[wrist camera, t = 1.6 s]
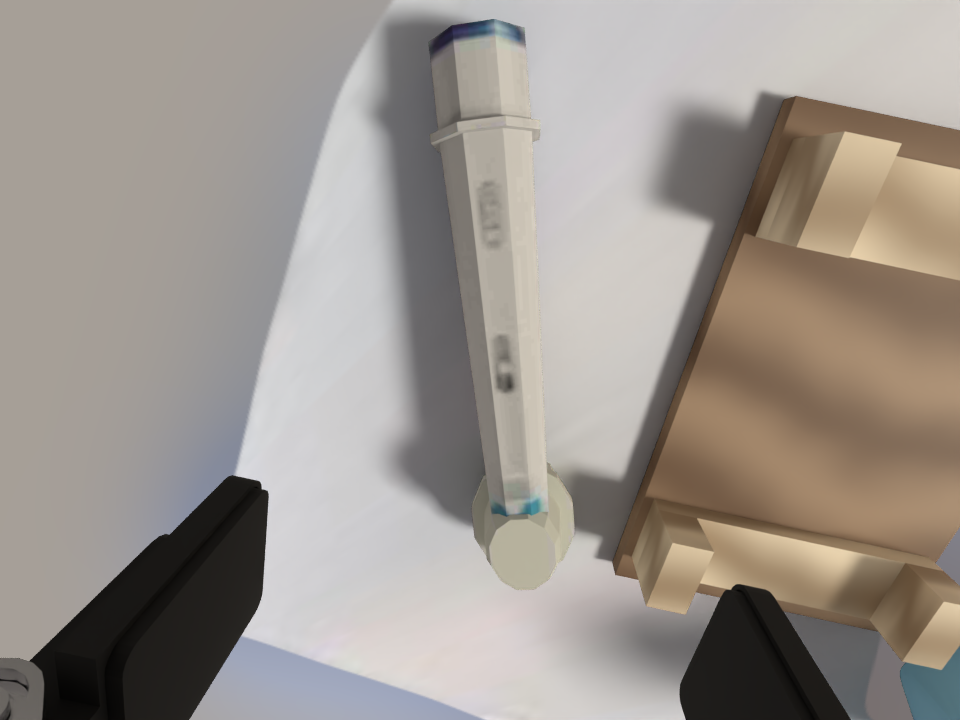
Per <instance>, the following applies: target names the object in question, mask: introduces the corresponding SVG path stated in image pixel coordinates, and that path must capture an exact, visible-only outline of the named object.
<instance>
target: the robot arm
mask: <svg viewBox="0 0 960 720" xmlns="http://www.w3.org/2000/svg"><path fill="white" fill-rule="evenodd" d="M268 498H269V496H268V491H266V490H262V488H261V483H260V482H259V481H256V480H251V479H247V478H242V477H237V476H233V475H232V476H229V477H227V478H226V479H225V480H224V481H223V482H222V483H221V484H220V485H219V486H218V487H217V488H216V489H215V490H214V491H213V492H212V493H211V494H210V495H209V496H208V497H207V498H206V499H205V500H204V501H203V502H202V503H201V504H200V505H199V506H198V507H197V508H196V509H195V510H194V511H193V512H192V513H191V514H190V515H189V516H188V517H187V518H186V519H185V520H184V521H183V522H182V523H181V524H180V525H179V526H178V527H177V528H176V529H175V530H174V531H173V532H172V533H171V534H170V535H168V534H164V535H162V536H159V537H158V538H157V539H155V540H154V541H153V542H152V543H151V544H150V545H149V546H147V547H146V548H145V549H144V550H143V551H142V552H141V553H140V554H139V555H138V556H137V557H136V558H135V559H134V560H133V561H132V562H131V563H130V564H129V565H128V566H127V567H126V568H125V569H124V570H123V571H122V572H121V573H120V574H119V575H118V576H117V577H116V578H114V579H113V580H112V581H111V583H109V584H108V585H107V586H106V587H105V588H104V589H103V590H102V591H101V592H100V593H99V594H98V595H97V596H96V597H95V598H94V599H93V600H92V601H91V602H90V603H89V604H88V605H87V606H86V607H85V608H84V609H83V610H82V611H80V613H78V614H77V615H76V616H75V617H74V618H73V619H72V620H71V621H70V622H69V623H68V624H67V625H66V626H65V627H64V628H63V629H62V630H61V631H60V632H59V633H58V634H57V635H56V636H55V637H54V638H53V639H52V640H51V641H50V642H49V643H48V644H47V645H46V646H44V647H43V648H42V649H41V650H40V652H38V653H37V654H36V655H35V656H34V657H33V658H32V659H31V660H30V661H26V660H23V659H20V658H0V720H189V719H190V718H191V716H192V714H193V713H194V711H195V709H196V708H197V706H198V705H199V703H200V701H201V700H202V698H203V696H204V695H205V693H206V692H207V690H208V688H209V687H210V685H211V684H212V682H213V680H214V679H215V677H216V675H217V674H218V672H219V671H220V669H221V667H222V666H223V664H224V662H225V661H226V659H227V658H228V656H229V654H230V653H231V651H232V649H233V648H234V646H235V645H236V643H237V641H238V640H239V638H240V637H241V635H242V633H243V632H244V630H245V628H246V627H247V625H248V624H249V622H250V620H251V619H252V617H253V615H254V614H255V612H256V610H257V608H258V606H259V603H260V600H261V597H262V591H263V576H264V560H265V545H266V529H267V513H268ZM680 702H681V706H682V709H683V712H684V715H685V718H686V720H851V719H850V718H849V716H848V715H847V713H846V711H845V710H844V708H843V706H842V705H841V703H840V702H839V700H838V698H837V697H836V695H835V694H834V692H833V690H832V689H831V687H830V686H829V684H828V682H827V681H826V679H825V678H824V676H823V674H822V673H821V671H820V670H819V668H818V666H817V665H816V663H815V662H814V660H813V658H812V657H811V655H810V654H809V652H808V650H807V649H806V647H805V646H804V644H803V642H802V641H801V639H800V637H799V636H798V634H797V633H796V631H795V629H794V628H793V626H792V625H791V623H790V621H789V620H788V618H787V617H786V615H785V613H784V612H783V610H782V609H781V607H780V605H779V604H778V602H777V601H776V599H775V597H774V596H773V595H772V593H771V592H770V591H768V590H766V589H761V588H756V587H752V586H747V585H742V584H736V585H734V586H733V587H732V589H731V590H725V591H724V592H723V594H722V596H721V598H720V600H719V602H718V605H717V607H716V609H715V611H714V613H713V615H712V617H711V619H710V622H709V624H708V626H707V628H706V630H705V632H704V634H703V636H702V639H701V641H700V643H699V645H698V647H697V649H696V651H695V654H694V656H693V658H692V660H691V662H690V664H689V666H688V668H687V671H686V673H685V675H684V677H683V679H682V681H681V684H680Z"/></svg>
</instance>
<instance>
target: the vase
mask: <svg viewBox="0 0 960 720" xmlns="http://www.w3.org/2000/svg"><path fill="white" fill-rule="evenodd" d="M900 678H901V682H902V686H903V689H904V692H905V695H906V698H907V701H908V704H909V707H910V710H911V713H912V716H913V719H914V720H960V646H959V647H958V649H957V650H956V651H955V653H954V654H953V655H952V657H951V658H950V659H949V661H948V662H947V663H946V665H945V666H944V668H943V669H942V670H939V669H934V668H930V667H925V666H920V665H916V664H911V663H907V662H906V663H905V664H904V665H903V666H902V668H901V670H900Z"/></svg>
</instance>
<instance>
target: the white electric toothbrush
mask: <svg viewBox="0 0 960 720" xmlns="http://www.w3.org/2000/svg"><path fill="white" fill-rule="evenodd" d="M429 51H430V60H431V69H432V79H433V88H434V97H435V106H436V116H437V125H438V131H436V132H434V133H432V134H430V142H431V144H432V145H433V147H434V148H435V149H436V150H437V151H438V152H441V158H442V165H443V172H444V179H445V186H446V193H447V200H448V208H449V215H450V222H451V229H452V236H453V243H454V250H455V258H456V265H457V272H458V279H459V286H460V293H461V300H462V307H463V315H464V322H465V329H466V336H467V343H468V350H469V357H470V364H471V372H472V379H473V386H474V393H475V400H476V407H477V414H478V422H479V429H480V436H481V443H482V450H483V457H484V464H485V471H486V475H484V476H483V478H482V480H481V483H480V485H479V488H478V490H477V493H476V495H475V498H474V500H473V503H472V508H471V510H472V519H473V528H474V537H475V539H476V541H477V542H478V544H479V546H480V547H481V549H482V550H483V552H484V553H485V555H486V557H487V560H488V562H489V563H490V565H491V566H492V568H493V569H494V571H495V572H496V574H497V575H498V577H499V579H500V580H501V581H502V582H504V583H505V584H507V585H509V586H511V587H513V588H514V589H516V590H534V589H536V588H537V587H539V586H540V585H542V584H543V583H545V582H546V581H548V580H549V579H550V577H551V576H552V575H553V573H554V570H555V568H556V566H557V564H558V563H559V562H560V561H562V560H563V559H564V557H565V554H566V552H567V550H568V548H569V546H570V544H571V541H572V539H573V537H574V535H575V528H574V513H573V502H572V498H571V496H570V494H569V493H568V491H567V489H566V488H565V486H564V484H563V483H562V481H561V480H560V478H559V476H558V475H557V473H556V472H554V470H553V469H552V467H551V466H550V464H549V463H547V462H546V440H545V417H544V394H543V372H542V349H541V327H540V304H539V282H538V259H537V236H536V214H535V191H534V169H533V146H532V142H534V141H536V140H539V138H540V120H535V119H531V113H530V99H529V85H528V71H527V58H526V44H525V30H524V28H523V27H520V26H516V25H513V24H510V23H506V22H503V21H499V20H496V19H491V20H485V21H478V22H472V23H465V24H458V25H452V26H451V27H449V28H448V29H446V30H445V31H444V32H442V33H441V34H439V35H438V36H437V37H435V38H434V39H432V40H431V41H429Z"/></svg>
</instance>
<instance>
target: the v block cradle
mask: <svg viewBox="0 0 960 720" xmlns="http://www.w3.org/2000/svg"><path fill="white" fill-rule="evenodd" d="M959 527H960V130H955V129H950V128H946V127H941V126H936V125H931V124H927V123H922V122H917V121H912V120H908V119H903V118H898V117H893V116H889V115H884V114H879V113H874V112H870V111H865V110H860V109H855V108H851V107H846V106H841V105H836V104H832V103H827V102H822V101H817V100H813V99H808V98H803V97H798V96H795V97H792V98H788V99H785V100H784V101H783V104H782V107H781V109H780V112H779V115H778V117H777V120H776V123H775V125H774V128H773V131H772V134H771V136H770V139H769V142H768V144H767V147H766V150H765V152H764V155H763V158H762V160H761V163H760V166H759V169H758V171H757V174H756V177H755V179H754V182H753V185H752V187H751V190H750V193H749V196H748V198H747V201H746V204H745V206H744V209H743V212H742V214H741V217H740V220H739V222H738V225H737V228H736V231H735V233H734V236H733V239H732V241H731V244H730V247H729V249H728V252H727V255H726V257H725V260H724V263H723V266H722V268H721V271H720V274H719V276H718V279H717V282H716V284H715V287H714V290H713V293H712V295H711V298H710V301H709V303H708V306H707V309H706V311H705V314H704V317H703V319H702V322H701V325H700V328H699V330H698V333H697V336H696V338H695V341H694V344H693V346H692V349H691V352H690V354H689V357H688V360H687V363H686V365H685V368H684V371H683V373H682V376H681V379H680V381H679V384H678V387H677V390H676V392H675V395H674V398H673V400H672V403H671V406H670V408H669V411H668V414H667V416H666V419H665V422H664V425H663V427H662V430H661V433H660V435H659V438H658V441H657V443H656V446H655V449H654V451H653V454H652V457H651V460H650V462H649V465H648V468H647V470H646V473H645V476H644V478H643V481H642V484H641V487H640V489H639V492H638V495H637V497H636V500H635V503H634V505H633V508H632V511H631V513H630V516H629V519H628V522H627V524H626V527H625V530H624V532H623V535H622V538H621V540H620V543H619V546H618V548H617V551H616V554H615V557H614V559H613V562H612V563H613V567H614V571H615V575H619V576H623V577H628V578H633V579H637V580H639V583H640V587H641V590H642V593H643V597H644V600H645V604H646V606H648V607H653V608H657V609H662V610H666V611H671V612H676V613H680V614H685V615H686V612H687V610H688V608H689V606H690V604H691V602H692V599H693V597H694V595H695V593H696V592H697V593H702V594H707V595H711V596H716V597H721V596H722V594H723V592H724V591H725V590H731V589H732V587H733V586H734V585H736V584H742V585H747V586H752V587H756V588H761V589H766V590H768V591H770V592H771V593H772V595H773V596H774V597H775V599H776V601H777V602H778V604H779V605H780V607H781V609H782V610H783V611H785V612H790V613H795V614H799V615H804V616H808V617H813V618H818V619H822V620H827V621H832V622H836V623H841V624H845V625H850V626H855V627H859V628H864V629H869V630H873V631H878V632H879V633H880V634H881V635H882V637H883V638H884V639H885V640H886V642H887V643H888V644H889V645H890V647H891V648H892V649H893V651H894V652H895V653H896V654H897V656H898V657H899V658H900V659H901V661H902V662H907V663H911V664H916V665H920V666H925V667H930V668H934V669H939V670H942V669H943V668H944V666H945V665H946V663H947V662H948V661H949V659H950V658H951V657H952V655H953V654H954V653H955V651H956V650H957V649H958V647H959V646H960V586H959V585H958V584H957V583H956V582H955V581H954V580H952V579H951V578H950V577H949V576H948V575H947V574H946V573H945V572H944V571H943V570H942V569H941V568H940V567H938V566H937V565H936V564H935V563H936V562H937V560H938V559H939V557H940V556H941V554H942V553H943V551H944V549H945V548H946V547H947V545H948V544H949V542H950V541H951V539H952V538H953V536H954V535H955V533H956V532H957V530H958V529H959Z"/></svg>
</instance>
